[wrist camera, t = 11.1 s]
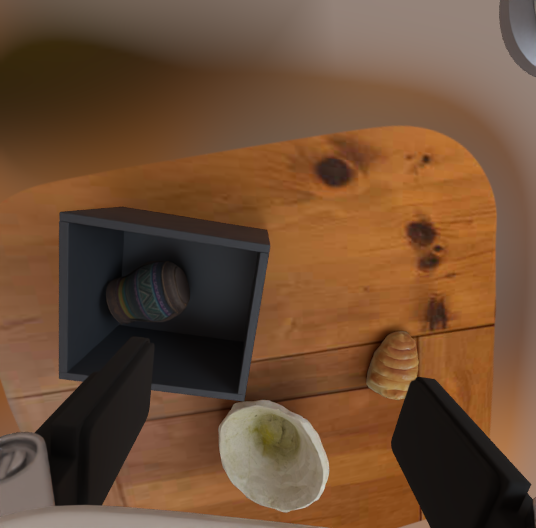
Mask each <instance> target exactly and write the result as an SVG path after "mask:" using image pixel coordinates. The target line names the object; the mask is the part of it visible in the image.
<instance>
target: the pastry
mask: <svg viewBox="0 0 536 528" xmlns="http://www.w3.org/2000/svg"><path fill="white" fill-rule="evenodd" d="M418 363H419V361H418V354H417V351H416V343H415V341H414V340H413V339H412V338H411V337H410V335H409V334H408V333H407V332H404V331H397V332H394V333H391V334H389V335H388V336H387V337H385V340H383V341H382V344H381V345H380V347H379V348H378V349H376V351H375V352H374V355H373V358H372V360H371V363H370V367H369V369H368V372H367V380H366V384H367V386H368V387H369V388H371V389H372V390H373V391H375V392H377V393H379V394H380V395H382V396H383V397H386V398H390V399H396V400H399V399H404V398H405V397H406V394H407V391H408V387H409V384H410V382H411V381H413V380H415V379H416V378H417V371H418Z"/></svg>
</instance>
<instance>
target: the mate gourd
mask: <svg viewBox="0 0 536 528" xmlns="http://www.w3.org/2000/svg"><path fill="white" fill-rule="evenodd" d="M106 300H107V304H108V308H109V310H110V312H111V314H112V315H113V317H114V318H115V319H116V320H117V321H118V322H120V323H121V324H122V323H125V324H128V323H132V322H135V321H145V322H165V321H168V320H170V319H172V318H174V317H176V316H177V315H180V314H181V313H182V312H183V311H184V310H185V308H186V307H187V305H188V302H189V300H190V290H189V285H188V281H187V278H186V275H185V273H184V272H183V270H182V269H181V268H180V267H179V266H177V265H176V264H174V263H172V262H170V261H150V262H147V263H144V264H143V265H141V266H139V267H138V268H136V269H135V270H133V271H132V272H130V273H129V274H127V275H126V276H122V277H119V278H117V279H113V280H111V281H110V282H109V284H108V286H107V290H106Z"/></svg>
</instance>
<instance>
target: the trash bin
mask: <svg viewBox="0 0 536 528" xmlns="http://www.w3.org/2000/svg"><path fill="white" fill-rule="evenodd" d="M269 251H270V242H269V237H268V232H267V230H264V229H257V228H251V227H245V226H239V225H233V224H226V223H220V222H214V221H208V220H202V219H195V218H189V217H183V216H177V215H171V214H164V213H158V212H152V211H146V210H140V209H133V208H127V207H113V208H101V209H89V210H77V211H65V212H60V221H59V379H66V380H74V381H82V382H83V381H84V380H85V379H86V378H87V377H88V376H89V375H90V374H92V373H93V372H99V371H100V370H101V369H102V368H103V367H104V366H105V365H106V363H107V362H108V361H109V360H110V359H111V358H112V357H113V356H114V355H115V354H116V353H117V352H118V350H119V349H120V348H121V347H122V346H123V345H124V344H125V343H126V342H127V341H128V340H129V338H130V337H132V336H135V337H142V338H149V339H150V343H154V359H153V371H152V383H151V390H154V391H163V392H171V393H179V394H187V395H195V396H203V397H211V398H219V399H227V400H235V401H243V402H244V400H245V394H246V388H247V382H248V376H249V370H250V364H251V358H252V352H253V346H254V340H255V334H256V328H257V322H258V316H259V310H260V304H261V298H262V292H263V286H264V280H265V274H266V268H267V263H268V257H269ZM150 261H170V262H172V263H174V264H176V265H177V266H179V267H180V268H181V269H182V270H183V272H184V273H185V275H186V278H187V281H188V285H189V290H190V300H189V302H188V305H187V307H186V308H185V310H184V311H183V312H182V313H181V314H180V315H177V316H176V317H174V318H172V319H170V320H168V321H165V322H145V321H135V322H132V323H128V324H125V323H122V324H121V323H120V322H118V321H117V320H116V319H115V318H114V317H113V315H112V314H111V312H110V310H109V308H108V304H107V300H106V290H107V286H108V284H109V282H110V281H111V280H113V279H117V278H119V277H122V276H126V275H127V274H129V273H130V272H132V271H133V270H135V269H136V268H138V267H139V266H141V265H143V264H144V263H147V262H150Z"/></svg>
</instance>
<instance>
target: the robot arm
mask: <svg viewBox="0 0 536 528" xmlns="http://www.w3.org/2000/svg"><path fill="white" fill-rule="evenodd" d="M534 8H535V14H536V0H534ZM153 359H154V343H150V339H149V338H142V337H135V336H132V337H130V338H129V340H128V341H127V342H126V343H125V344H124V345H123V346H122V347H121V348H120V349H119V350H118V352H117V353H116V354H115V355H114V356H113V357H112V358H111V359H110V360H109V361H108V362H107V363H106V365H105V366H104V367H103V368H102V369H101V370H100V371H99V372H93V373H92V374H90V375H89V376H88V377H87V378H86V379H85V380H84V381H83V383H82V384H81V385H80V386H79V387H78V388H77V389H76V390H75V391H74V392H73V393H72V394H71V395H70V396H69V397H68V398H67V399H66V400H65V401H64V402H63V404H62V405H61V406H60V407H59V408H58V409H57V410H56V411H55V412H54V413H53V414H52V415H51V416H50V417H49V418H48V419H47V420H46V421H45V422H44V423H43V425H42V426H41V427H40V428H39V429H38V430H37V431H36V432H35V433H31V432H17V433H12V434H8V435H4V436H2V437H0V528H327V527H318V526H309V525H300V524H291V523H282V522H273V521H264V520H254V519H245V518H235V517H226V516H216V515H207V514H197V513H188V512H178V511H167V510H155V509H143V508H132V507H120V506H102V504H103V502H104V500H105V498H106V496H107V494H108V492H109V490H110V488H111V487H112V485H113V483H114V481H115V479H116V477H117V475H118V473H119V471H120V469H121V467H122V465H123V463H124V461H125V460H126V458H127V456H128V454H129V452H130V450H131V448H132V446H133V444H134V442H135V440H136V438H137V436H138V434H139V432H140V431H141V429H142V427H143V425H144V423H145V421H146V419H147V416H148V413H149V407H150V395H151V383H152V371H153ZM391 446H392V451H393V453H394V455H395V457H396V459H397V461H398V463H399V465H400V467H401V469H402V471H403V473H404V475H405V477H406V479H407V481H408V483H409V485H410V487H411V489H412V491H413V493H414V495H415V497H416V499H417V501H418V503H419V505H420V507H421V509H422V511H423V513H424V515H425V517H426V519H427V521H428V523H429V525H430V527H431V528H536V497H535V498H534V499H532V498H531V497H530V496H529V495H528V493H527V492H528V490H529V488H530V486H531V484H530V483H529V481H528V480H527V479H526V478H525V477H524V476H523V475H522V474H521V473H520V472H519V471H518V469H517V468H515V466H514V465H513V464H512V463H511V462H510V461H509V460H508V459H507V457H506V456H505V455H504V454H503V453H502V452H501V451H500V450H499V449H498V448H497V447H496V446H495V444H494V443H493V442H492V441H491V440H490V439H489V438H488V437H487V436H486V434H485V433H484V432H483V431H482V430H481V429H480V428H479V427H478V426H477V425H476V424H475V422H474V421H473V420H472V419H471V418H470V417H469V416H468V415H467V414H466V413H465V411H464V410H463V409H462V408H461V407H460V406H459V405H458V404H457V403H456V402H455V401H454V399H453V398H452V397H451V396H450V395H449V394H448V393H447V392H446V391H445V390H444V389H443V387H442V386H441V385H440V384H439V383H438V382H437V381H436V380H435V379H430V378H423V377H417V378H416V379H415V380H413V381H411V382H410V384H409V387H408V391H407V394H406V397H405V400H404V403H403V406H402V409H401V412H400V415H399V418H398V421H397V425H396V428H395V431H394V434H393V437H392V441H391Z"/></svg>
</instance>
